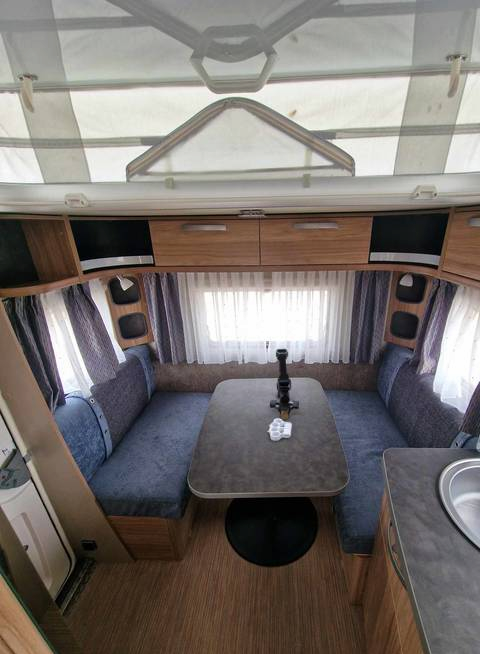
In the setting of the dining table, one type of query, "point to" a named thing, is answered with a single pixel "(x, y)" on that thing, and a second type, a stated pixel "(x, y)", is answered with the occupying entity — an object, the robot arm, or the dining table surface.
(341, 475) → the dining table surface
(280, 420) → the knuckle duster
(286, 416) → the spice jar
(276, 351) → the robot arm
